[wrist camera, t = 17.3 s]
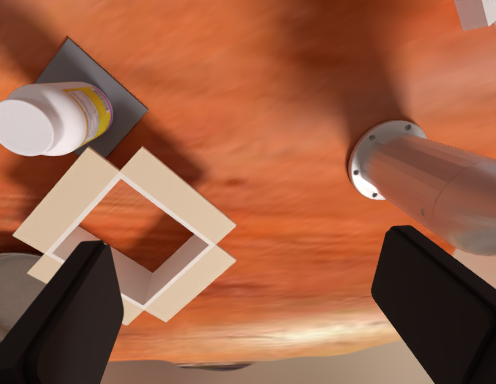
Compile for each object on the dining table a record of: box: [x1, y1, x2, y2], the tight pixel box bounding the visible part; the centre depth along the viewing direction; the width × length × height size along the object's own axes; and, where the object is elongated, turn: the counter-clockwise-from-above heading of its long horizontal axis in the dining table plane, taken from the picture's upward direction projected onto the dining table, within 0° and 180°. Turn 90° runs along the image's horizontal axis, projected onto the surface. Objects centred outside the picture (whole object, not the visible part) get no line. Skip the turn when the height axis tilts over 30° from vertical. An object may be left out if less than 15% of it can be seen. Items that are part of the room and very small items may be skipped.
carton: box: [12, 146, 237, 326], centre depth 38 cm, size 23×23×7 cm
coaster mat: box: [34, 39, 148, 158], centre depth 34 cm, size 11×11×1 cm
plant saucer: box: [0, 252, 47, 343], centre depth 43 cm, size 21×21×3 cm
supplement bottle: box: [0, 82, 113, 156], centre depth 28 cm, size 7×7×13 cm
